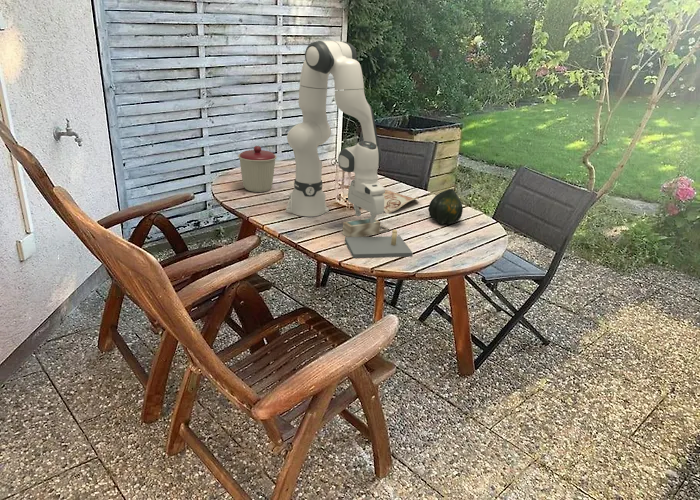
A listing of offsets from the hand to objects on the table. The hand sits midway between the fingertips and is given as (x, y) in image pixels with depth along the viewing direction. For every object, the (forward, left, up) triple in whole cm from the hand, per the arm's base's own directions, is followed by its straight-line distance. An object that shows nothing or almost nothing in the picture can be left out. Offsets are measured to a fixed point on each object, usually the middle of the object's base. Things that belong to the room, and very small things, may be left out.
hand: (364, 219), depth 208 cm
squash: (-14, +39, -7) cm, 42 cm away
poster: (-43, +19, -7) cm, 47 cm away
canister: (-61, -39, -7) cm, 72 cm away
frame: (-1, +2, -6) cm, 7 cm away
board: (+14, +2, -7) cm, 16 cm away
